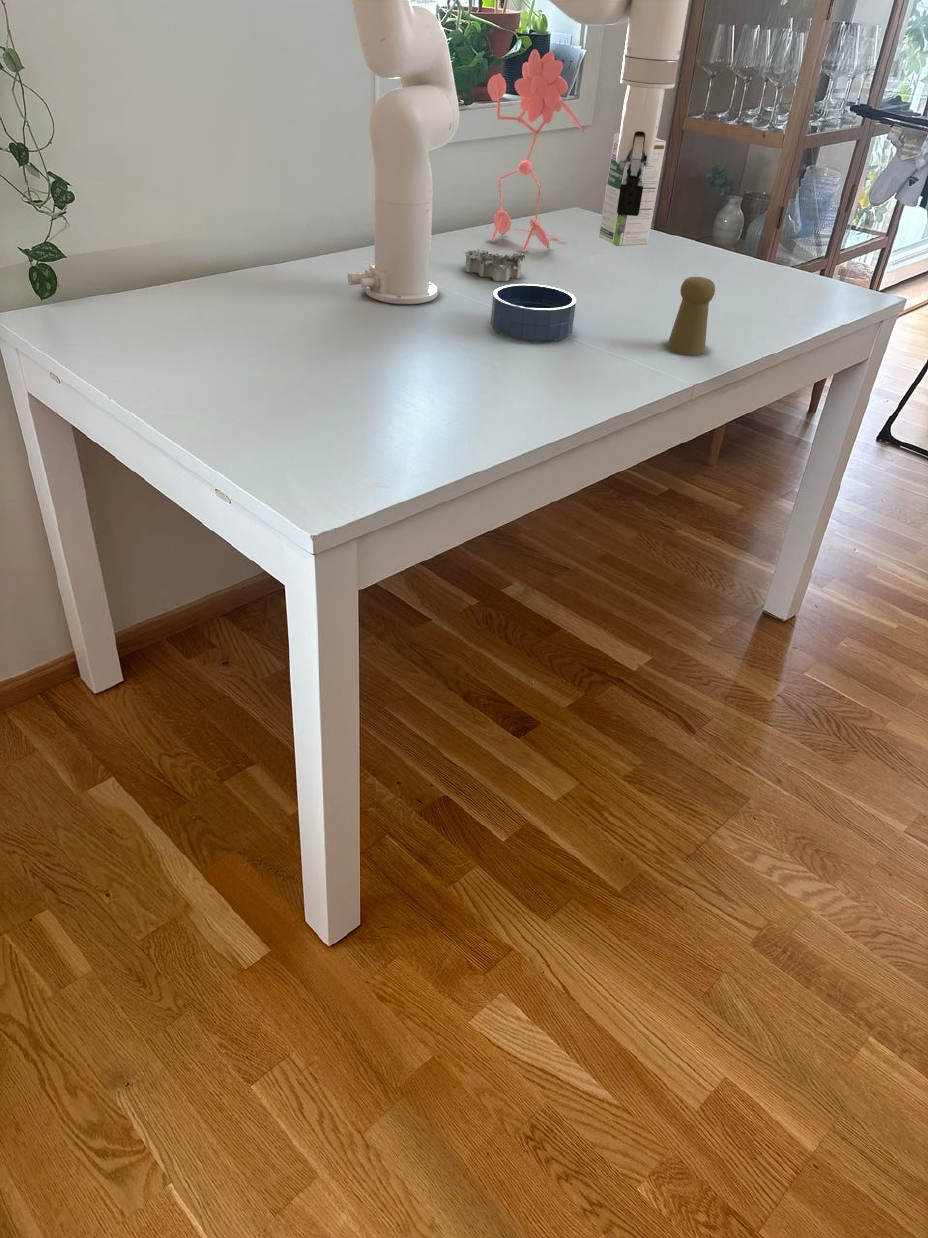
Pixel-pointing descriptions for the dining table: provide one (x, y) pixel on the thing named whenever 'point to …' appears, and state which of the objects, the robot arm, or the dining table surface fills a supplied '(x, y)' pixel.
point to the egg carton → (494, 264)
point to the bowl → (533, 312)
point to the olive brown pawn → (692, 317)
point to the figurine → (532, 119)
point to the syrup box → (638, 227)
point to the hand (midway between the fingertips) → (628, 207)
